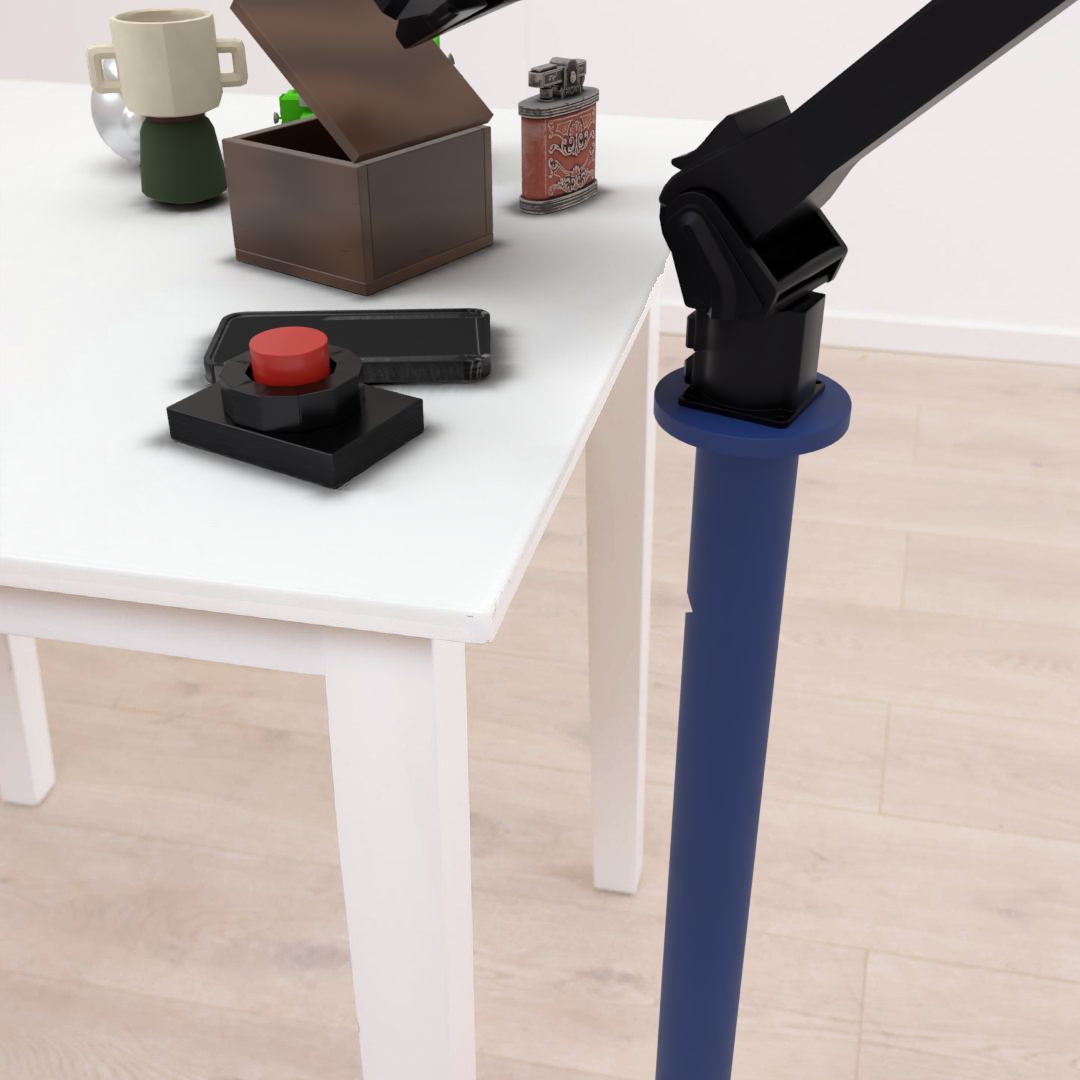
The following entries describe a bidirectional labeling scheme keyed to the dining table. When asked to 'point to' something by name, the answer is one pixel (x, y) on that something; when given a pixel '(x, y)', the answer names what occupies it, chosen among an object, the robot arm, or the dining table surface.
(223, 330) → the phone
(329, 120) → the lid
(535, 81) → the lighter
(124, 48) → the cream and green trophy
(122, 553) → the dining table surface
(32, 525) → the dining table surface
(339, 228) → the chest
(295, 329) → the button
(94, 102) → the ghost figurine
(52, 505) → the dining table surface
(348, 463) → the button base
